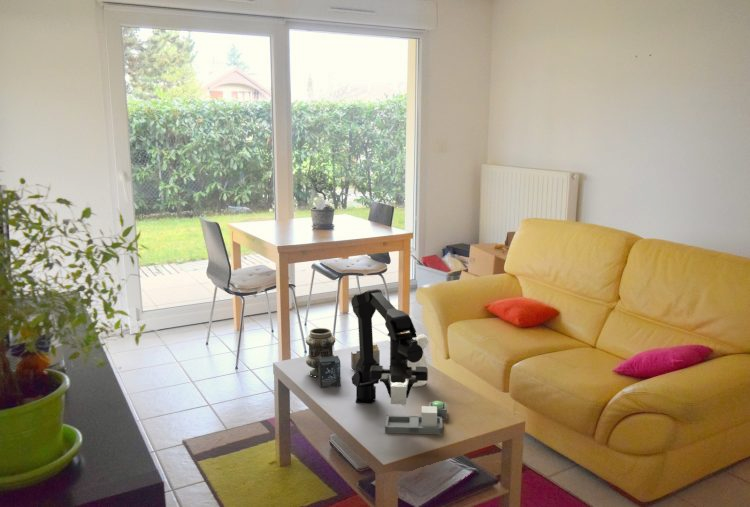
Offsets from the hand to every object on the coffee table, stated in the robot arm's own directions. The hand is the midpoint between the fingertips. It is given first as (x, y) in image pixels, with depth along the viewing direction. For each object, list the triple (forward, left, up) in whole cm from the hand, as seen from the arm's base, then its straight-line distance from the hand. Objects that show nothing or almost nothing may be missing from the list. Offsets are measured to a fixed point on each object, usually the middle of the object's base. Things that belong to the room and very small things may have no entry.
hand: (398, 397), depth 216 cm
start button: (+13, +9, -10) cm, 19 cm away
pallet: (+5, 0, -10) cm, 12 cm away
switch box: (+13, +9, -10) cm, 19 cm away
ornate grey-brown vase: (-33, +45, -11) cm, 57 cm away
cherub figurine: (+3, +37, -11) cm, 39 cm away
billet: (0, 0, -1) cm, 1 cm away
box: (-28, +34, -11) cm, 45 cm away
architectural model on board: (-16, +52, -11) cm, 55 cm away
